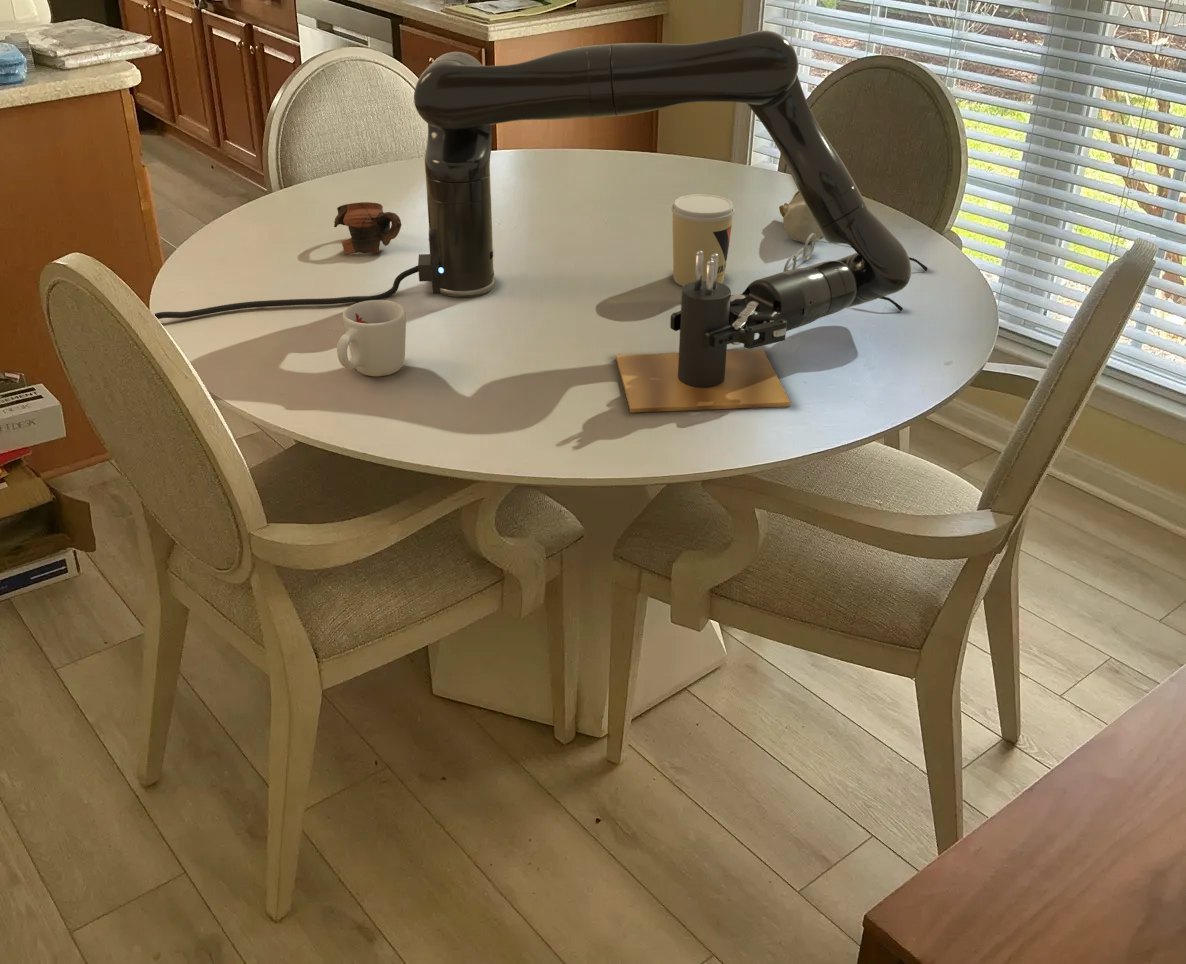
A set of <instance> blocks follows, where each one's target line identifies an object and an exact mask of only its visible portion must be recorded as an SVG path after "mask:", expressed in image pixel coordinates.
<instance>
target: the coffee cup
mask: <svg viewBox="0 0 1186 964" xmlns="http://www.w3.org/2000/svg"><path fill="white" fill-rule="evenodd" d="M735 210H736V209H735V207H734V204H733V202H732V201H731V200H730V199H728V198H726V197H723V196H720V195H715V194H714V195H713V194H707V193H695V194H692V193H691V194H686V195H682V196H679V197H677V198H676V199H675V200H674V201H673V204H671V213H672V266H673V267H672V270H673V271H672V272H673V280H674V282H675V283H676V284H678V285H680V286H682V287H684V286H685V285H686V284H688V283H691V282H695V266H696V253H697V251H702V252H703V253H704V256H703V273H702V281H706V273H707V262H708V261H710V260H711V255H712V254H714V253H716V254H718V272H717V282H718V283H722V284H723V282H724V280H725V274H726V269H727V268H726V267H727V261H728V255H729V248H730V241H731V235H732V227H733V219H734V215H735V212H736V211H735Z"/></svg>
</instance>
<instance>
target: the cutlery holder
mask: <svg viewBox="0 0 1186 964" xmlns="http://www.w3.org/2000/svg"><path fill="white" fill-rule="evenodd" d="M703 256H704V253H703V252H702V251H697V253H696V266H695V282H691V283H688V284H686V285H685V286H682V288H681V303H680V304H681V305H680V311H681V321H680V330H679V345H678V353H679V361H678V378H679V380H680V381H681V382H682V383H684V384H686V385H689V386H692V387H698V388H708V387H714V386H717V385H719V384H721V383H722V382H723V381H724V378H725V365H726V352H727V351H728V350H727V349H728V344H727V345H724V346H721V347H718V348H714V349H711V350H709V349H707V348H705V347H704V341H705V334H706V332H708V331H711V330H714V329H717V328H720V327H723V326H726V325H729V311H730V298H731V295H732V290H731V288H730V286H728V285H726V284H724V283H723V282H722V283H718V282H717V272H718V254H716V253H714V254H712V255H711V260H710V261H708V262H707V273H706V281H702V273H703Z"/></svg>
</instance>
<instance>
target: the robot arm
mask: <svg viewBox="0 0 1186 964" xmlns="http://www.w3.org/2000/svg"><path fill="white" fill-rule="evenodd" d="M798 72H799V58H798V55H797V52H796V50H795V48H794V46H793V45H792V44H791V42H790V41H789V40H788V39H787V38H786V37H784V36H783V35H782V34H780V33H777V32H775V31H772V30H757V31H751V32H749V33H746V34H744V33H743V34H740V35H736V36H731V37H726V38H725V37H724V38H721V39H714V40H709V41H703V42H696V43H695V42H694V43H662V42H661V43H660V42H659V43H658V42H632V43H631V42H627V43H626V42H625V43H624V42H623V43H620V42H619V43H605V44H595V45H585V46H578V47H573V48H569V49H564V50H560V51H556V52H553V53H550V54H545V55H542V56H540V57H537V58H534V59H533V58H532V59H530V60H526V61H523V62H519V63H513V64H504V65H503V64H502V65H483V64H481V62H480V61H479V59H477V58H475V57H474V56H473V55H471V54H468V53H466V52H462V51H451V52H446V53H444V54H442V55H440V56H438V57H437V58H436V59H434V60H433V61H432V62H431V64H429V66H427V67H426V68H425V70H424V71H423V72H422V73H421V74H420V76H419V78H418V80H417V82H416V83H415V88H414V91H413V103H414V107H415V110H416V112H417V114H418V115H419V116H420V118H421V119H422V120H423V121H424V122H425V123H427V139H426V141H427V142H426V148H425V152H424V174H425V187H426V201H427V219H428V246H429V247H428V248H429V253H424V254H423V253H422V254H421V253H419V254H418V258H417V259H418V260H417V261H418V262H417V265H415V266H413V267H411V268H408V269H405V270H404V271H402V272H401V273H399V274H398V275H397V276H396V277H395V279H394V281H393V283H392V286H391V287H390V289H388V290H387V291H385V292H382V293H380V294H375V295H355V296H353V295H351V296H342V297H328V298H327V297H326V298H325V297H324V298H292V299H291V298H289V299H270V300H268V299H267V300H255V301H244V302H235V303H228V304H227V303H226V304H221V305H216V306H215V305H214V306H211V307H210V306H209V307H205V308H200V309H193V310H186V311H160V312H156V313H154V314H155V316H156V317H157V318H158V320H160V319H189V318H194V317H195V318H196V317H200V316H206V315H210V314H211V315H212V314H217V313H221V312H228V311H235V310H243V309H254V308H266V307H267V308H268V307H291V306H310V305H312V306H314V305H315V306H318V305H319V306H321V305H340V304H348V303H349V304H350V303H359V302H363V301H369V300H385V299H387V298H389V297H391V296H393V295H394V294H395V293H396V292H398V289H399V287H400V284H401V282H402V281H403V280H404V279H405V278H407V277H409V276H411V275H414V274H416V273H418V281H419V282H420V283H421V282H431V288H432V289H431V290H432V294H433V295H443V296H447V297H453V298H470V297H476V296H480V295H484V294H487V293H488V292H490V291H492V290H493V289H494V288H495V285H496V284H495V282H496V280H495V279H496V278H495V269H494V252H495V250H494V242H493V241H494V239H493V217H492V214H493V213H492V189H491V186H492V185H491V153H492V148H493V147H492V145H493V144H492V143H493V131H492V130H493V125H496V124H497V125H498V124H504V123H509V122H517V121H544V120H545V121H547V120H548V121H549V120H552V121H553V120H574V119H595V118H597V119H599V118H608V117H609V118H610V117H611V118H612V117H617V116H618V117H623V116H631V115H637V114H643V113H649V112H653V111H658V110H663V109H666V108H672V107H675V106H680V105H685V104H693V103H739V104H746V105H747V106H748V107H749V109H750V110H751V111H752V112H753V113H754V115H755V116H756V118H757V119H758V120H759V121H760V122H761V124H762V125H763V127H764V128H765V130H766V131H767V133H768V134H769V136H770V137H771V139H772V141H773V142H774V144H775V146H776V147H777V149H778V151H779V153H780V155H781V157H782V159H783V161H784V163H785V165H786V167H787V170H788V171H789V173H790V175H791V178H792V180H793V182H794V184H795V186H796V189H797V190H798V191H799V192H800V194H801V196H802V198H803V200H804V202H805V204H806V206H807V208H808V210H809V212H810V213H811V215H812V217H813V219H814V221H815V222H816V224H817V226H818V227H819V230H820V231H821V233H822V235H823V236H822V237H823V238H824V240H825V241H826V242H829V243H828V244H830V243H831V245H835V244H839V245H847V246H849V247H852V248H851V249H853V250H854V251H855V253H853V254H850V255H847V256H844V257H842V258H840V259H839V258H838V259H836V260H826V261H822V262H819V263H815V264H812V265H809V266H805V267H799V268H795V269H792V268H791V269H789V270H786V271H785V272H783V271H782V272H779V273H778V272H777V273H775V274H772V275H768V276H765V277H761V278H759V279H755V280H753V281H752V282H751V283H749V284H748V285H747V287H746V288H745V289H744V290H743V292H742V293H740V294H731V298H730V311H729V325H726V326H723V327H720V328H717V329H714V330H711V331H708V332H706V334H705V341H704V347H705V348H707V349H709V350H711V349H714V348H718V347H721V346H724V345H727V346H728V345H734V346H737V345H738V346H739V345H740V344H743V348H744V349H747V350H753V349H756V348H759V347H765V346H768V345H772V344H775V343H776V344H777V343H780V342H784V341H786V335H787V334H786V333H787V332H790V331H793V330H795V329H797V328H801V327H804V326H806V325H808V324H811V323H813V322H815V321H817V320H818V319H821V318H822V319H823V318H824V317H828V316H831V315H834V314H835V313H838V312H841V311H843V310H845V309H848V308H852V307H855V306H859V305H862V304H866V303H870V302H872V301H874V300H878V299H880V298H881V297H887V296H890V295H894V294H896V293H898V292H901V291H902V290H903V289H905V288H906V287H907V285H908V284H909V283H910V280H911V277H912V264H911V260H910V259H909V257H910V256H909V254H908V252H907V250H906V249H905V247H904V246H903V244H902V243H901V241H899V239H898V238H897V237H896V236H895V235H894V234H893V233H892V232H891V231H890V230H889V228H888V227H886V226H885V224H884V223H883V222H882V221H881V220H880V219H879V218H878V217H877V216H876V215H875V214H874V213H873V212H872V211H871V210H870V208H869V207H868V205H867V203H866V201H865V199H864V197H863V195H862V193H861V192H860V190H859V188H858V186H857V184H856V182H855V181H854V178H853V177H852V175H851V173H850V171H849V170H848V169H847V167H846V165H845V163H844V162H843V160H842V159H841V157H840V156H839V154H838V153H837V151H836V149H835V148H834V147H833V144H831V142H830V141H829V139H828V138H827V136H826V134H825V133H824V131H823V130H822V128H821V126H820V125H819V123H818V121H817V119H816V117H815V116H814V113H813V111H812V110H811V107H810V105H809V103H808V101H807V98H806V96H805V93H804V90H803V87H802V85H801V81H800V79H799V75H798ZM680 321H681V310H679V311H675V312H672V314H670V322H669V324H670V325H669V326H670V327H669V328H670V329H671V330H673V331H675V332H677V331H680ZM756 334H758V337H757V338H755V335H756Z"/></svg>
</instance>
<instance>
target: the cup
mask: <svg viewBox="0 0 1186 964" xmlns="http://www.w3.org/2000/svg"><path fill="white" fill-rule="evenodd" d="M342 322H343V326H344V331H345V332H344V333H343V334H342V335H341V336H340V338H339V339H338V342H337V344H336V354H337V359H338V361H339V364H340V365H341V366H342V367H344V368H346V369H348V370H349V369H356V370H357V371H358V372H359V373H360V374H362V375H365V376H370V377H386V376H389V375H393V374H395V373H396V372H398V371H400V370H401V369H402V367H403V365H404V364H405V359H406V337H407V310H406V308H405V307H404V306H403V305H402V304H400V303H398V302H395V301H392V300H387V299H386V300H385V299H380V300H369V301H363V302H355V303H354V304H351V305H350V306H348V307H347V308H345V309H344V310H343V313H342ZM348 348H349V352H350V359H349V357H348Z"/></svg>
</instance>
